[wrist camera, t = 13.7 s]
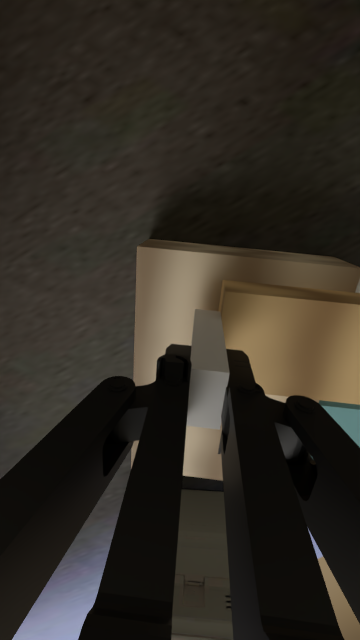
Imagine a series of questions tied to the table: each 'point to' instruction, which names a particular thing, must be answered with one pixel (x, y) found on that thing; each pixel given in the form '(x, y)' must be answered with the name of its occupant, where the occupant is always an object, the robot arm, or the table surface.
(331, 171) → the table surface
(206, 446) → the platform
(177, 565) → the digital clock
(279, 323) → the ochre tile
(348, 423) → the teal tile
